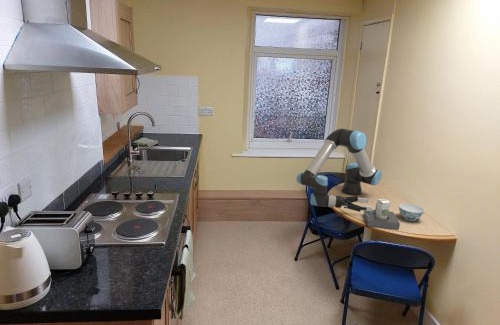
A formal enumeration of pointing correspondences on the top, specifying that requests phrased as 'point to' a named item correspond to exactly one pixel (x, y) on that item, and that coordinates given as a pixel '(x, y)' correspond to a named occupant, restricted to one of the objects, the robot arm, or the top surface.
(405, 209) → the chinaware
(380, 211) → the syrup box
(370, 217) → the collar
